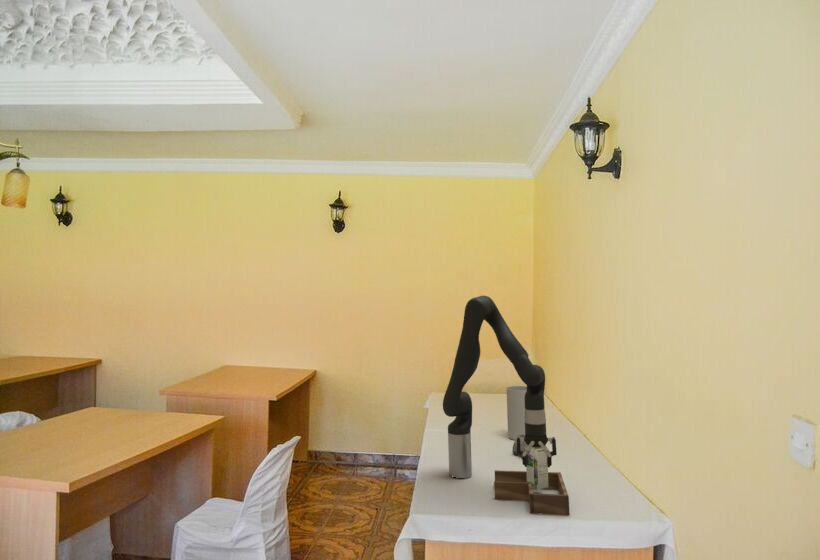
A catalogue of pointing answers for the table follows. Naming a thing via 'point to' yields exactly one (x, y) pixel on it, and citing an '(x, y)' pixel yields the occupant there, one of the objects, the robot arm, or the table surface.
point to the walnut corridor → (518, 488)
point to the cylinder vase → (516, 410)
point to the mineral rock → (520, 445)
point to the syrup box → (537, 468)
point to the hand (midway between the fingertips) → (537, 466)
